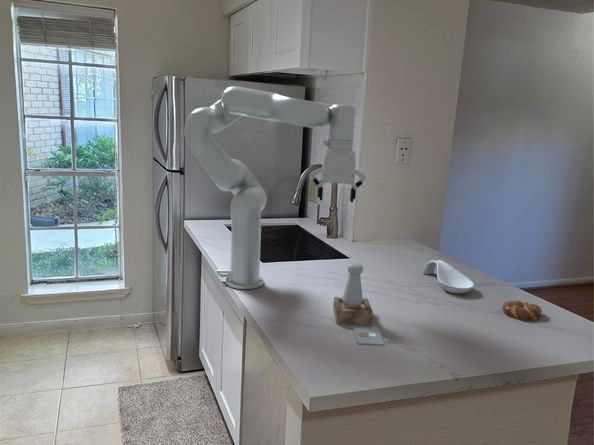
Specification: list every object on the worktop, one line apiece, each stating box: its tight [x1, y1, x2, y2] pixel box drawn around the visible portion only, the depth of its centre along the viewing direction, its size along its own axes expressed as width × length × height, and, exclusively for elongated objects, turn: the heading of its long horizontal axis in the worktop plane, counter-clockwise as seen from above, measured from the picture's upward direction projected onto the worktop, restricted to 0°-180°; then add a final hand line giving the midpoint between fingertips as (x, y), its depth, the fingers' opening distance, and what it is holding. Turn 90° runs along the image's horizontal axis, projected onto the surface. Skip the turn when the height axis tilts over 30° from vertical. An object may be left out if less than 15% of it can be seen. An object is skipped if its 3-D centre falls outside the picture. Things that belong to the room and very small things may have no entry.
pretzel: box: [501, 300, 543, 322], centre depth 160 cm, size 12×11×4 cm
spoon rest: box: [422, 259, 475, 295], centre depth 182 cm, size 24×12×7 cm, turn 17°
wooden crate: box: [332, 296, 374, 326], centre depth 150 cm, size 10×10×4 cm
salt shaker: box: [342, 262, 364, 310], centre depth 148 cm, size 6×6×13 cm
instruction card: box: [352, 325, 386, 346], centre depth 138 cm, size 7×10×1 cm
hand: (336, 200), depth 162 cm, fingers open, 9 cm apart
